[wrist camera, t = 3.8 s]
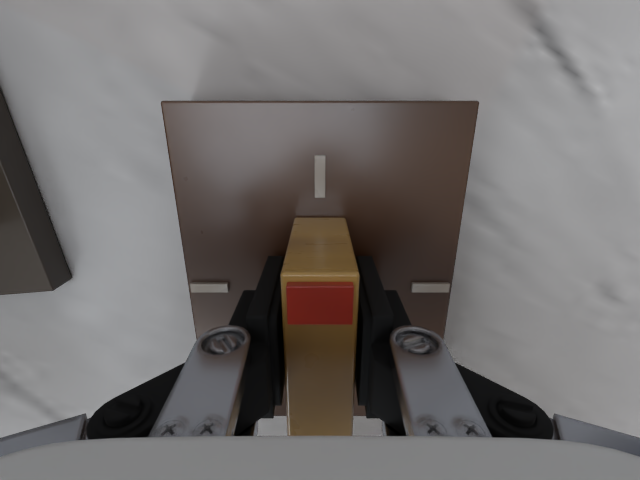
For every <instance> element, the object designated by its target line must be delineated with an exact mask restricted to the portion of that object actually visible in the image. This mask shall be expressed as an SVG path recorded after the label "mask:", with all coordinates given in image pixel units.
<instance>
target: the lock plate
mask: <svg viewBox="0 0 640 480" xmlns="http://www.w3.org/2000/svg"><path fill="white" fill-rule="evenodd" d="M161 106H162V113H163V119H164V126H165V133H166V139H167V146H168V153H169V159H170V166H171V172H172V179H173V186H174V192H175V199H176V206H177V212H178V219H179V225H180V232H181V239H182V245H183V252H184V259H185V265H186V272H187V279H188V285H189V292H190V298H191V305H192V312H193V318H194V325H195V332H196V338H197V339H198V338H199V337H200V336H201V335H202V334H204V333H205V332H206V331H208V330H211V329H213V328H216V327H219V326H226V325H228V324H229V322H230V320H231V318H232V315H233V313H234V311H235V309H236V306H237V304H238V302H239V299H240V297H241V295H242V293H243V291H244V290H256V287H257V285H258V282H259V279H260V277H261V274H262V271H263V269H264V266H265V263H266V260H267V258H268V256H284V259H285V255H286V251H287V247H288V243H289V238H290V234H291V230H292V226H293V222H294V219H295V218H345V219H346V222H347V226H348V230H349V234H350V238H351V243H352V247H353V251H354V255H355V259H356V256H372V258H373V260H374V263H375V266H376V269H377V271H378V274H379V277H380V279H381V282H382V285H383V288H384V290H396V291H397V293H398V295H399V297H400V299H401V302H402V304H403V306H404V309H405V311H406V313H407V315H408V318H409V320H410V322H411V324H412V325H414V326H421V327H424V328H427V329H429V330H432V331H434V332H435V333H436V334H438V335H439V336H440V337H441V338H442V339H443V338H444V332H445V325H446V318H447V312H448V305H449V298H450V292H451V285H452V279H453V272H454V265H455V259H456V252H457V245H458V239H459V232H460V225H461V219H462V212H463V206H464V199H465V192H466V186H467V179H468V172H469V166H470V159H471V153H472V146H473V139H474V133H475V126H476V119H477V113H478V106H479V102H478V101H162V102H161ZM274 416H287V411H286V389H285V385H284V393H283V400H282V406H275V411H274ZM353 416H366V411H365V406H358V400H357V393H356V385H355V389H354V411H353Z"/></svg>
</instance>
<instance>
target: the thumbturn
mask: <svg viewBox="0 0 640 480" xmlns="http://www.w3.org/2000/svg"><path fill="white" fill-rule="evenodd" d="M280 278H281V300H282V322H283V345H284V367H285V389H286V411H287V434H288V436H352V434H353V411H354V389H355V367H356V345H357V322H358V300H359V278H360V275H359V271H358V267H357V263H356V259H355V255H354V251H353V247H352V243H351V238H350V234H349V230H348V226H347V222H346V219H345V218H295V219H294V222H293V226H292V230H291V234H290V238H289V243H288V247H287V251H286V255H285V259H284V263H283V267H282V271H281V275H280Z"/></svg>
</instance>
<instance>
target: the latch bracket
mask: <svg viewBox="0 0 640 480" xmlns="http://www.w3.org/2000/svg"><path fill="white" fill-rule="evenodd" d="M71 278H72V277H71V275H70V272H69V269H68V267H67V264H66V261H65V259H64V256H63V253H62V251H61V248H60V246H59V243H58V240H57V238H56V235H55V232H54V230H53V227H52V224H51V222H50V219H49V217H48V214H47V211H46V209H45V206H44V203H43V201H42V198H41V196H40V193H39V190H38V188H37V185H36V182H35V180H34V177H33V174H32V172H31V169H30V167H29V164H28V161H27V159H26V156H25V153H24V151H23V148H22V145H21V143H20V140H19V138H18V135H17V132H16V130H15V127H14V124H13V122H12V119H11V116H10V114H9V111H8V109H7V106H6V103H5V101H4V98H3V95H2V93H1V90H0V295H5V294H17V293H30V292H43V291H53V290H55V289H56V288H58V287H59V286H61V285H62V284H64V283H65V282H67V281H68V280H70V279H71Z"/></svg>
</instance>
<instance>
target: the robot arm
mask: <svg viewBox="0 0 640 480" xmlns="http://www.w3.org/2000/svg"><path fill="white" fill-rule="evenodd" d="M283 263H284V256H268V258H267V260H266V263H265V266H264V269H263V271H262V274H261V277H260V279H259V282H258V285H257V287H256V290H244V291H243V293H242V295H241V297H240V299H239V302H238V304H237V306H236V309H235V311H234V313H233V315H232V318H231V320H230V322H229V324H228V325H226V326H219V327H216V328H213V329H211V330H208V331H206V332H205V333H204V334H202V335H201V336H200V337H199V338H198V339H197V341H196V342H195V344H194V346H193V348H192V350H191V352H190V354H189V356H188V358H187V360H186V362H185V363H183V364H181V365H179V366H177V367H175V368H173V369H171V370H169V371H167V372H165V373H163V374H161V375H159V376H157V377H155V378H153V379H151V380H149V381H147V382H145V383H143V384H141V385H139V386H137V387H135V388H133V389H131V390H129V391H127V392H125V393H123V394H121V395H119V396H117V397H115V398H113V399H112V400H110V401H108V402H107V403H105V404H104V405H103V406H102V407H100V408H99V409H98V410H97V411H96V412H95V413H94V414H93V416H92V417H91V418H89V419H87V416H86V414H82V415H79V416H75V417H72V418H68V419H65V420H61V421H58V422H54V423H51V424H47V425H44V426H40V427H37V428H33V429H30V430H26V431H23V432H20V433H16V434H13V435H9V436H6V437H2V438H0V480H640V438H638V437H634V436H631V435H627V434H624V433H620V432H617V431H614V430H610V429H607V428H603V427H600V426H596V425H593V424H589V423H586V422H582V421H579V420H575V419H572V418H568V417H565V416H561V415H558V414H554V416H553V419H551V418H549V417H548V416H547V414H546V413H545V412H544V411H543V410H542V409H541V408H540V407H538V406H537V405H536V404H535V403H533V402H531V401H530V400H528V399H527V398H525V397H523V396H521V395H519V394H517V393H515V392H513V391H511V390H509V389H507V388H505V387H503V386H501V385H499V384H497V383H495V382H493V381H491V380H489V379H487V378H485V377H483V376H481V375H479V374H477V373H475V372H473V371H471V370H469V369H467V368H465V367H463V366H461V365H459V364H457V363H455V362H454V360H453V358H452V356H451V354H450V352H449V350H448V348H447V346H446V344H445V342H444V341H443V339H442V338H441V337H440V336H439V335H438V334H436V333H435V332H434V331H432V330H429V329H427V328H424V327H421V326H414V325H412V324H411V322H410V320H409V318H408V315H407V313H406V311H405V309H404V306H403V304H402V302H401V299H400V297H399V295H398V293H397V291H396V290H384V288H383V285H382V282H381V279H380V277H379V274H378V271H377V269H376V266H375V263H374V260H373V258H372V256H356V263H357V267H358V271H359V275H360V278H359V300H358V322H357V345H356V367H355V385H356V393H357V400H358V406H365V411H366V418H380V419H381V420H382V433H383V436H257V433H258V420H259V419H260V418H274V411H275V406H282V400H283V393H284V385H285V367H284V345H283V322H282V300H281V278H280V275H281V271H282V267H283Z"/></svg>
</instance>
